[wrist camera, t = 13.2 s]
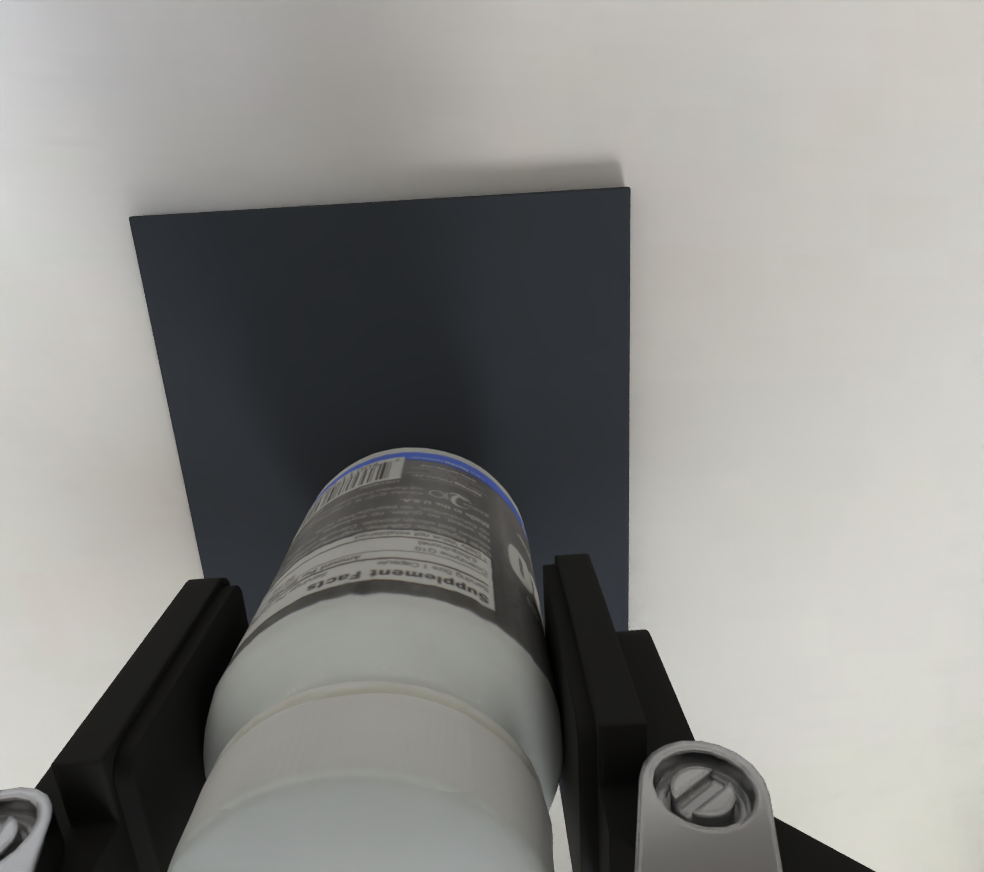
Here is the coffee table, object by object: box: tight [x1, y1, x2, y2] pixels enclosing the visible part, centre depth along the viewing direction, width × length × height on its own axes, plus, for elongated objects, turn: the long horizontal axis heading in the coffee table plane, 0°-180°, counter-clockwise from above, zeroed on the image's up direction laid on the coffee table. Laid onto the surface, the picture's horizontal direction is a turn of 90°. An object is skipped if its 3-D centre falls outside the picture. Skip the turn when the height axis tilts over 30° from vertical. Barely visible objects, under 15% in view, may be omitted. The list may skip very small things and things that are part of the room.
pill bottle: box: [167, 448, 563, 872], centre depth 11 cm, size 5×5×8 cm
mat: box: [129, 187, 630, 633], centre depth 16 cm, size 14×10×1 cm
